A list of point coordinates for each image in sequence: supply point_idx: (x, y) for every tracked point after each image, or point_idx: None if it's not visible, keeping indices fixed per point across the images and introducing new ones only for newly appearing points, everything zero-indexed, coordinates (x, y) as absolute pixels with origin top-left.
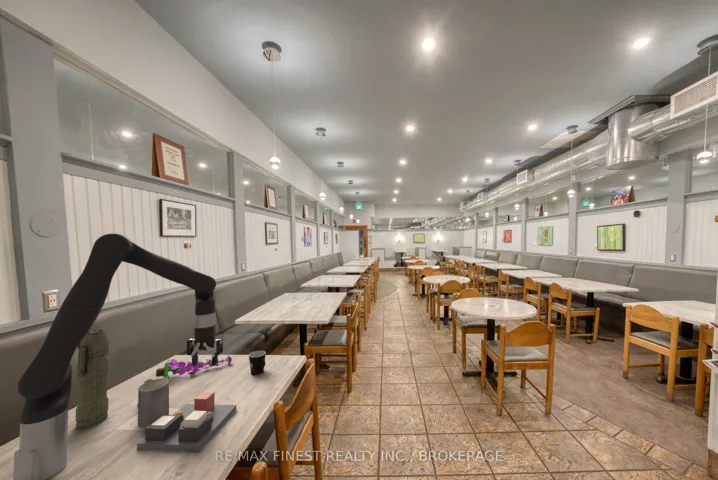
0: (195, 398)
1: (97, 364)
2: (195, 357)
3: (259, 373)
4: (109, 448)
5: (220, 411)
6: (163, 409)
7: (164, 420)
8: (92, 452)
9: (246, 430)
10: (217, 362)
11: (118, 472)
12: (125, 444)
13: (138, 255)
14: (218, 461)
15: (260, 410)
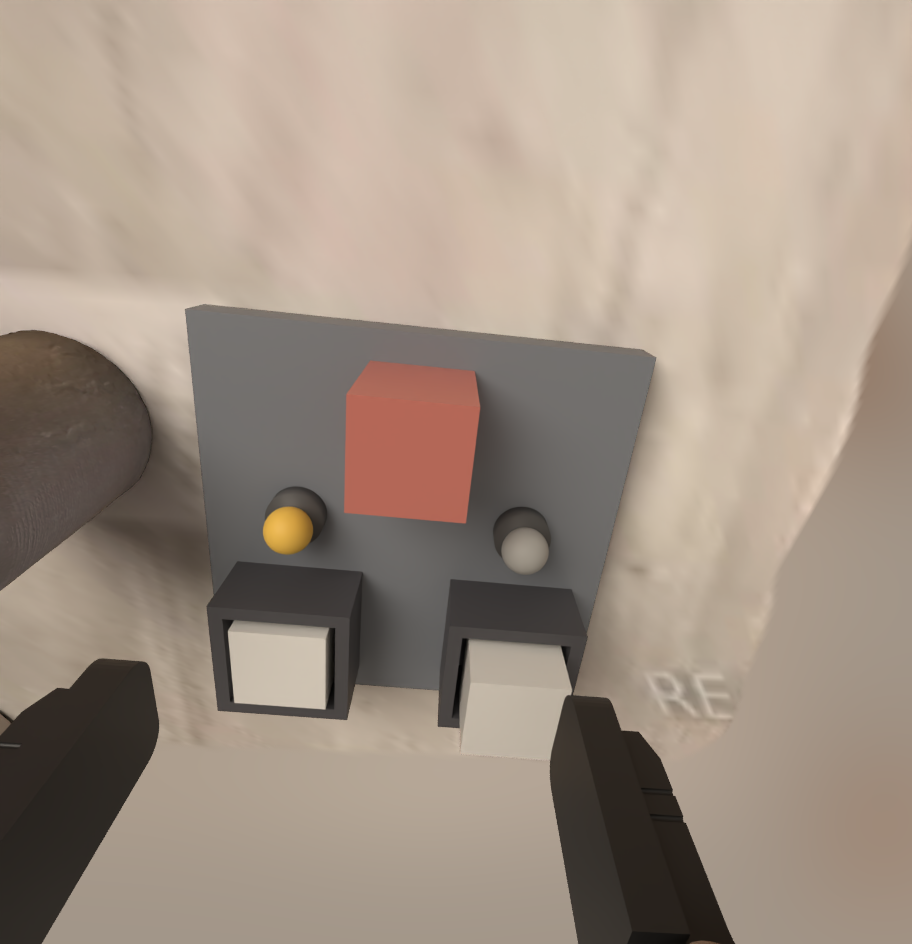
0: (352, 510)
1: None
2: (28, 926)
3: None
4: (78, 637)
5: (555, 434)
6: (106, 474)
7: (284, 671)
8: (22, 655)
9: (767, 557)
10: (649, 754)
11: (281, 745)
12: (133, 618)
13: None
14: (677, 720)
15: (838, 365)
